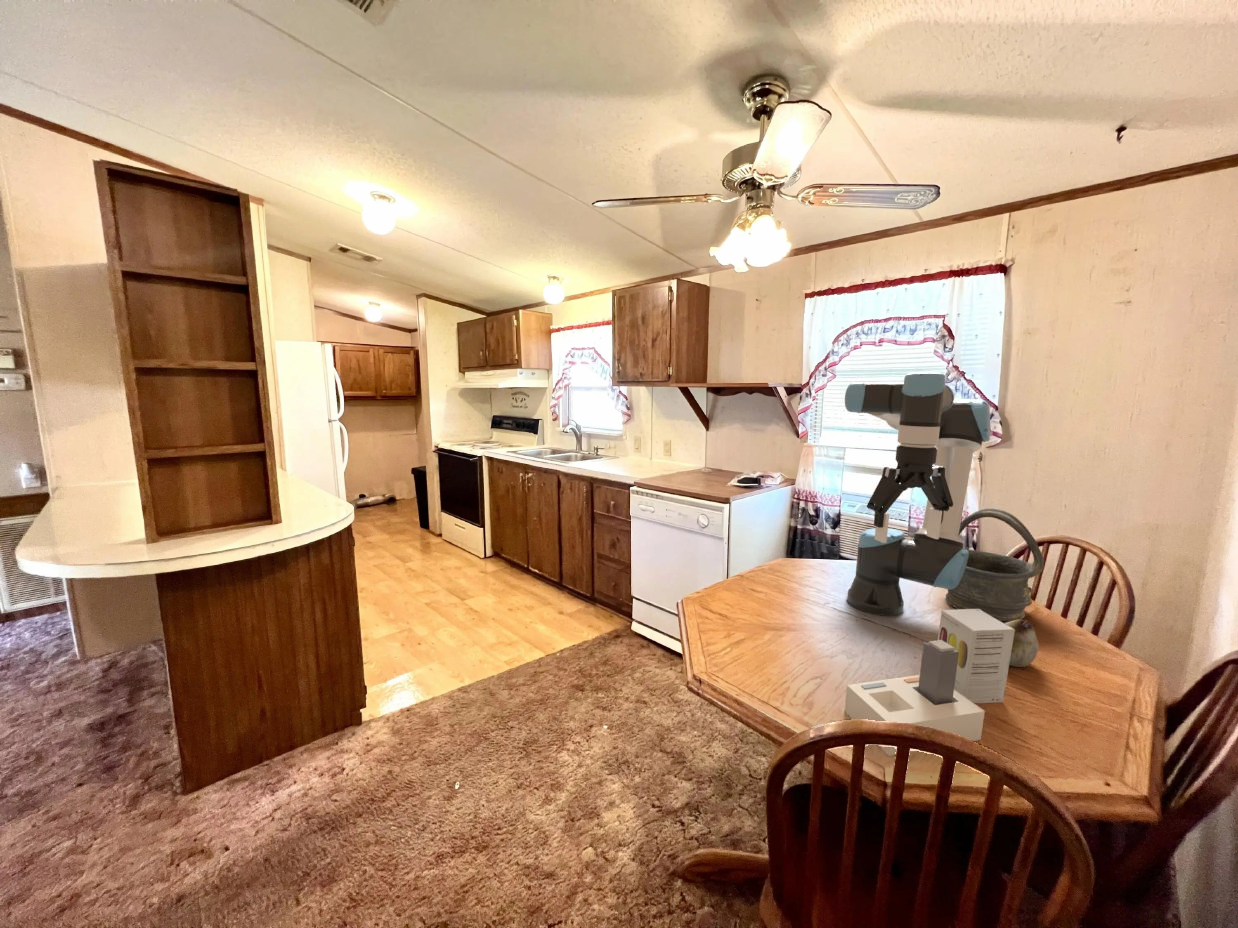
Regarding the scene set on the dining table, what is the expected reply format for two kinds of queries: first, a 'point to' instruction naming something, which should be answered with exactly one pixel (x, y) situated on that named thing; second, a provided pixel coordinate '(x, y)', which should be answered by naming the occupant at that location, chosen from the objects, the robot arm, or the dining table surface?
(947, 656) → the plug
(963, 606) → the clay pot
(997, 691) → the supplement box
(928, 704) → the socket block
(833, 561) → the dining table surface
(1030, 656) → the fruit
